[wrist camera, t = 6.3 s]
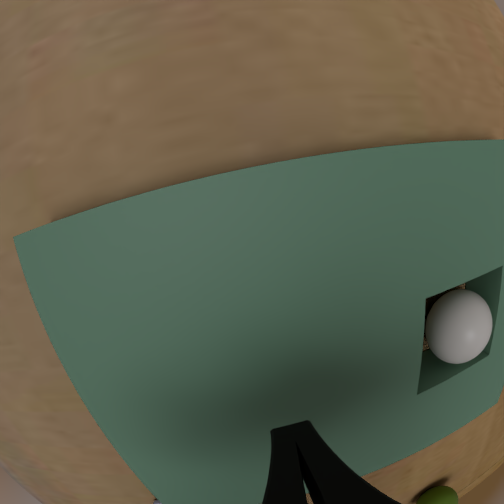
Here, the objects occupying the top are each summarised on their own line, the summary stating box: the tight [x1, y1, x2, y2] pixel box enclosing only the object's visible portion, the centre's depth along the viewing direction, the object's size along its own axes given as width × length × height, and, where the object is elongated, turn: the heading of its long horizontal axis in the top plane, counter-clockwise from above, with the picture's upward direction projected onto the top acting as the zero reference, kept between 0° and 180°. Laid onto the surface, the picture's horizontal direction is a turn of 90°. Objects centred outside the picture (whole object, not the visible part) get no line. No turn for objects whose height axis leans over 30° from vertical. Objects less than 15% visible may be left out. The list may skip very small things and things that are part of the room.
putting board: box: [13, 140, 504, 504], centre depth 13 cm, size 18×24×3 cm
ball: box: [425, 289, 492, 364], centre depth 13 cm, size 4×4×4 cm
